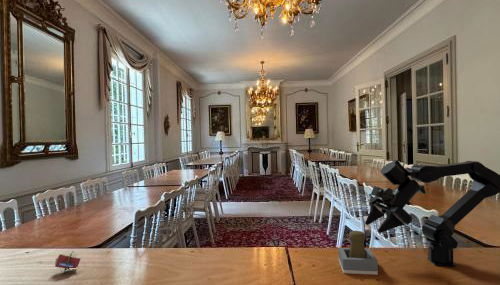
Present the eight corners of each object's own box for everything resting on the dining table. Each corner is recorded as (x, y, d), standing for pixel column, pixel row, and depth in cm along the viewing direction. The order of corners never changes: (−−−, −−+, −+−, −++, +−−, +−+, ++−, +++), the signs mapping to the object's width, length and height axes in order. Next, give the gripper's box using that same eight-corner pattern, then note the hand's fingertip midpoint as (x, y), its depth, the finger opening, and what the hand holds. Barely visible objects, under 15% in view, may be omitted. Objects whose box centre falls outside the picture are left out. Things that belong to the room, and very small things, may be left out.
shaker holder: (370, 261, 107) (369, 248, 107) (377, 274, 96) (377, 260, 96) (338, 260, 109) (338, 247, 109) (343, 273, 98) (343, 259, 98)
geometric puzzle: (87, 259, 109) (71, 243, 108) (83, 267, 103) (66, 250, 101) (69, 274, 108) (53, 258, 106) (64, 282, 101) (46, 265, 100)
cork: (371, 265, 101) (370, 232, 101) (356, 268, 99) (355, 235, 99) (358, 259, 106) (358, 228, 106) (344, 262, 104) (343, 230, 104)
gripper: (373, 175, 112) (344, 205, 112) (401, 181, 94) (367, 218, 93) (394, 195, 113) (366, 226, 112) (426, 206, 94) (393, 243, 94)
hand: (372, 227), depth 103 cm, fingers open, 9 cm apart
